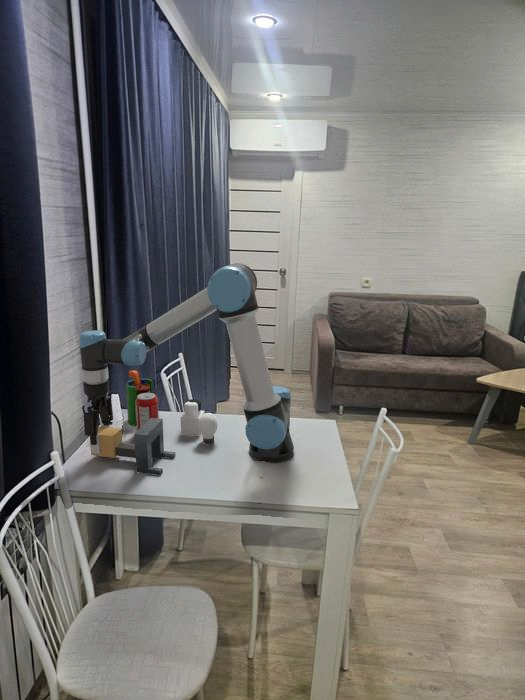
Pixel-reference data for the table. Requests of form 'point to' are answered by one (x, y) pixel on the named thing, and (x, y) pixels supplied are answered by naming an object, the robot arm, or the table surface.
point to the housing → (150, 446)
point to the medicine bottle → (191, 417)
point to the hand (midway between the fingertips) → (101, 447)
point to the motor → (136, 394)
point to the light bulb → (208, 427)
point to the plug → (113, 444)
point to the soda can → (146, 408)
